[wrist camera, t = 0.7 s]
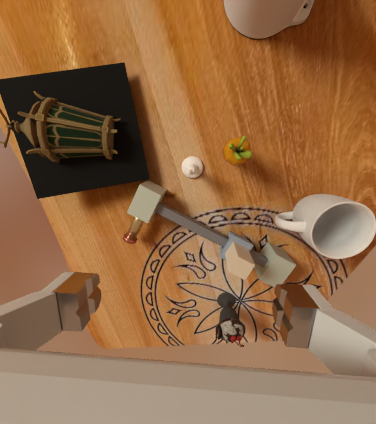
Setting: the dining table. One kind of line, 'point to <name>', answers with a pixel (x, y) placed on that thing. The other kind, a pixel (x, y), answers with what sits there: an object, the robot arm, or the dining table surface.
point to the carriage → (237, 255)
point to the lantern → (75, 128)
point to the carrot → (237, 151)
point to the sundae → (229, 320)
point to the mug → (331, 224)
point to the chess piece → (192, 167)
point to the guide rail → (210, 233)
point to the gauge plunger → (133, 231)
